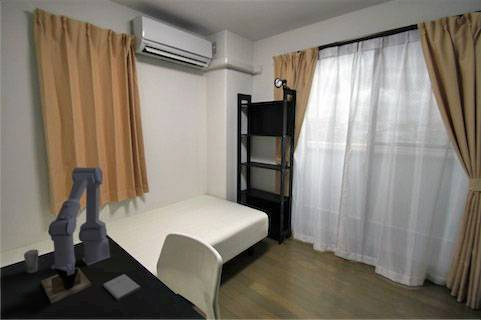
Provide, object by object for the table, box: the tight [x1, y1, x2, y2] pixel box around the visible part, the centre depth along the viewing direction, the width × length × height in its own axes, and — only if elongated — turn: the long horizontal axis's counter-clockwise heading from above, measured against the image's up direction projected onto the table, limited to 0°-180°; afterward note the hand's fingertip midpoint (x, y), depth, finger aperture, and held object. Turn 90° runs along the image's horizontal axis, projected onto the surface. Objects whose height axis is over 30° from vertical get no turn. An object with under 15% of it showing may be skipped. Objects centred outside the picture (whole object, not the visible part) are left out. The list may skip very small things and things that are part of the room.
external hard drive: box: [103, 273, 141, 301], centre depth 86 cm, size 2×8×12 cm
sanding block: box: [51, 271, 81, 294], centre depth 84 cm, size 8×4×4 cm, turn 141°
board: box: [41, 266, 92, 304], centre depth 87 cm, size 12×16×1 cm
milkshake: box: [23, 249, 39, 274], centre depth 94 cm, size 4×5×10 cm
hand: (66, 284), depth 84 cm, fingers open, 6 cm apart
